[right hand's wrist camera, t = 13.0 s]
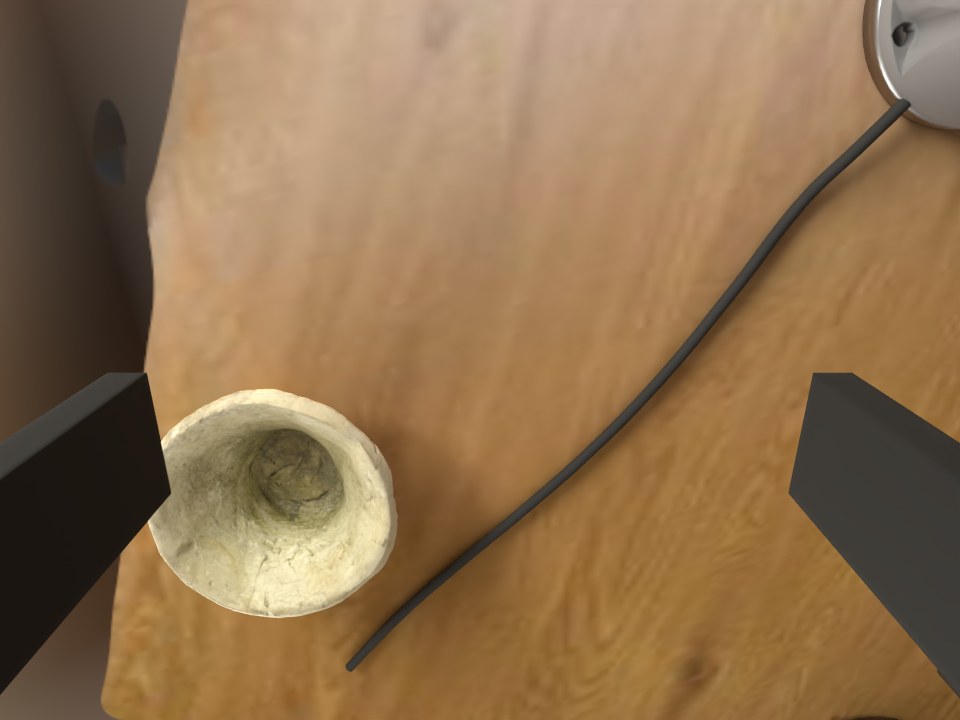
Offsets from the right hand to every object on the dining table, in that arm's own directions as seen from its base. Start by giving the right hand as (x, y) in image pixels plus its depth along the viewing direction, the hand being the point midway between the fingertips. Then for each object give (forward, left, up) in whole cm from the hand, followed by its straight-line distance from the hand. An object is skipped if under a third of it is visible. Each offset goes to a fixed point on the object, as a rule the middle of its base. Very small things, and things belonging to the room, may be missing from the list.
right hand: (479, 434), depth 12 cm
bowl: (-24, +5, -34) cm, 42 cm away
